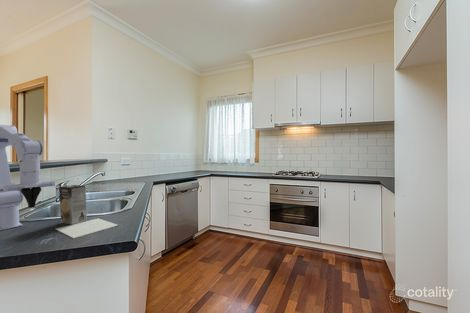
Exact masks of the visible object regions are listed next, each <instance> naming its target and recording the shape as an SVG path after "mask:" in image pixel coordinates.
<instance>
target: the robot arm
mask: <svg viewBox="0 0 470 313" xmlns="http://www.w3.org/2000/svg"><path fill="white" fill-rule="evenodd" d="M10 146H12V147H13V148H14V149H15V153H16V157H17V158H16V159H17V161H18V163H19V182H20V183H14V182H13V181H12V176H11V171H10V165H9V161H8V156H7V150H6V149H7V147H10ZM43 147H44V146H43V144H42V142H41V141H40V140H34V141H33V140H32V139H31V138H30V137H28V136H26V135H25V133H23V132H18V129H17V127H16V126H15V125H13V124H0V231H3V230H8V229H13V228H17V227H21V226H23V223H21V222H20V211H19V210H20V208H19V205H21V203H23V202H24V199H25V201H26V203H27V206H28V208H30V209H32V208H35V207H36V203H37V199H38V197H39V195H40V193H41V191H42V188H46V187H47V188H49V187H55V186H56V181H55V180H51V181H49V180H48V181H41V162H40V158H41V157H40V156H41V155H42V154H43V152H44V151H43V149H44V148H43Z"/></svg>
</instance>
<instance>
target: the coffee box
mask: <svg viewBox="0 0 470 313" xmlns="http://www.w3.org/2000/svg"><path fill="white" fill-rule="evenodd" d="M58 189H59V207H60V208H59V209H60V210H59V211H60V223H62V224H67V225H73V224H77V223H81V222H85V221H88V215H87V195H86V194H87V192H86V185H80V184H79V185H77V184H73V185H66V186H59V188H58Z"/></svg>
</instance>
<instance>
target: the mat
mask: <svg viewBox="0 0 470 313" xmlns="http://www.w3.org/2000/svg"><path fill="white" fill-rule="evenodd" d="M118 226H119V224H117V223H113V222H111V221H107V220H104V219H101V218H94V219H90V220H87V221H84V222H80V223H77V224H73V225H72V224H68V225H66V226H61V227H58V228H55V230H56V231H58V232H59V233H61V234H63V235H65V236H68V237H70V239H71V238H72V239H78V238H81V237H84V236H89V235H91V234H92V235H93V234H95V233H98V232H101V231H106V230H108V229H112V228H115V227H118Z"/></svg>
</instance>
